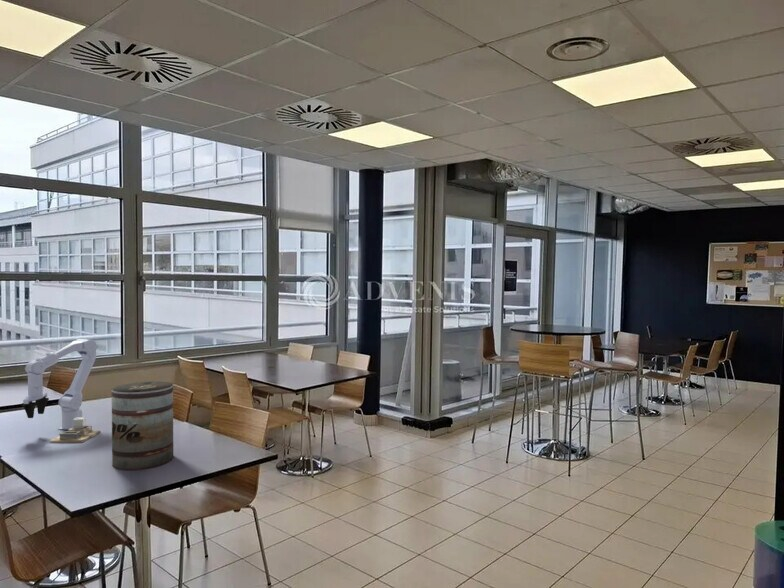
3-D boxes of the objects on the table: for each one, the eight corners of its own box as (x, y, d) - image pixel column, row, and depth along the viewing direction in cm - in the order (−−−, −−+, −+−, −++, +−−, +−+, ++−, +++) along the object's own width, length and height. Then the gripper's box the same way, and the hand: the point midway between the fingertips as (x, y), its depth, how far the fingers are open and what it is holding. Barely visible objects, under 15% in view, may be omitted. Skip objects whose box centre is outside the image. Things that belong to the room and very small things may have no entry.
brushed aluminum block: (76, 432, 254) (76, 417, 254) (85, 431, 255) (85, 417, 254) (73, 434, 250) (73, 419, 250) (82, 434, 251) (82, 419, 251)
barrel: (108, 458, 220) (107, 385, 219) (166, 448, 233) (165, 379, 232) (116, 474, 201) (116, 394, 201) (179, 462, 214) (179, 388, 214)
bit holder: (70, 432, 257) (70, 425, 256) (100, 432, 257) (100, 425, 257) (50, 442, 241) (49, 434, 241) (81, 442, 241) (81, 434, 241)
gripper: (36, 383, 258) (36, 412, 258) (16, 390, 243) (16, 419, 244) (51, 383, 258) (51, 412, 258) (32, 390, 244) (32, 419, 244)
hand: (35, 415), depth 251 cm, fingers open, 7 cm apart
